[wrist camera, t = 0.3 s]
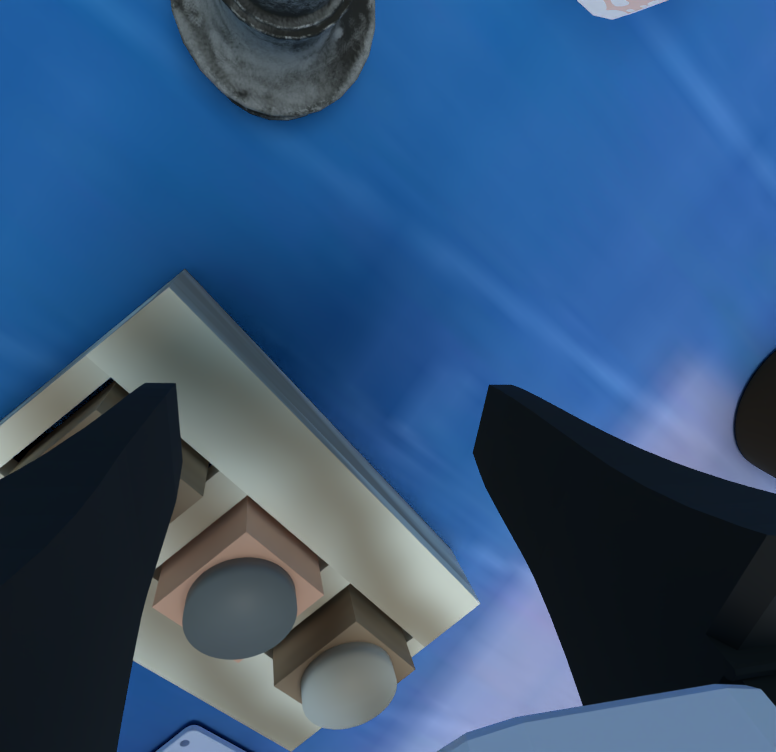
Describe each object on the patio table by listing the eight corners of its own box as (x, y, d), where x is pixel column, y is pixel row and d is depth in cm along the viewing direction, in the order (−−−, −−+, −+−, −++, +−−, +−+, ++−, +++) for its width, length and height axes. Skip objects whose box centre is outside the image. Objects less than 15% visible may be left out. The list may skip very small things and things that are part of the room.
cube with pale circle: (126, 519, 20) (97, 594, 16) (29, 449, 18) (-27, 515, 14) (210, 451, 20) (200, 510, 16) (122, 374, 18) (88, 421, 14)
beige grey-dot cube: (240, 602, 23) (237, 681, 19) (166, 548, 21) (147, 625, 17) (315, 542, 22) (326, 610, 19) (247, 483, 21) (245, 546, 17)
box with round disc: (329, 666, 25) (342, 746, 22) (271, 624, 23) (274, 704, 20) (396, 614, 25) (420, 685, 22) (343, 567, 23) (359, 637, 20)
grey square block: (286, 679, 28) (290, 751, 25) (-45, 458, 20) (-113, 518, 16) (451, 549, 28) (480, 603, 24) (184, 268, 19) (168, 287, 16)
